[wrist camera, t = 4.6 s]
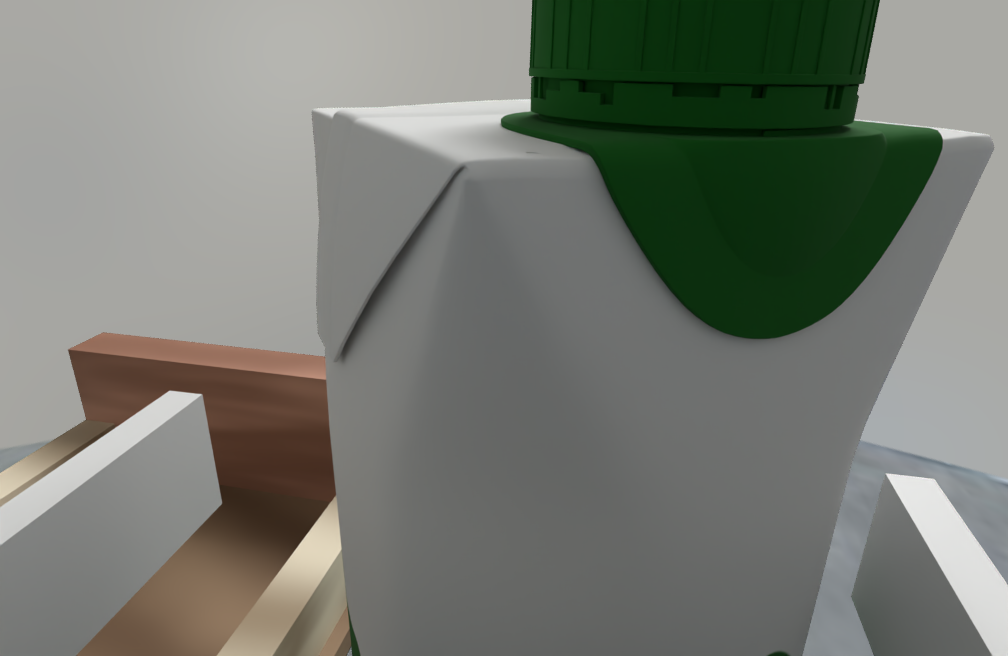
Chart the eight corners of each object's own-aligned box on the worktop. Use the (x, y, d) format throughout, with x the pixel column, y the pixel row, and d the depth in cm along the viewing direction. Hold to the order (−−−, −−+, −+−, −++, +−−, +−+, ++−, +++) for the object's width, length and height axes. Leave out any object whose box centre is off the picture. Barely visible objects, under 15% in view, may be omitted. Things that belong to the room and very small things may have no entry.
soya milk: (451, 1197, 12) (399, -165, 4) (343, 746, 19) (255, -21, 12) (809, 943, 15) (1141, -51, 7) (597, 645, 23) (657, 3, 15)
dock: (9, 1295, 11) (-140, 1093, 8) (-627, 1007, 14) (-883, 795, 11) (426, 501, 30) (421, 367, 27) (124, 456, 33) (93, 331, 30)
